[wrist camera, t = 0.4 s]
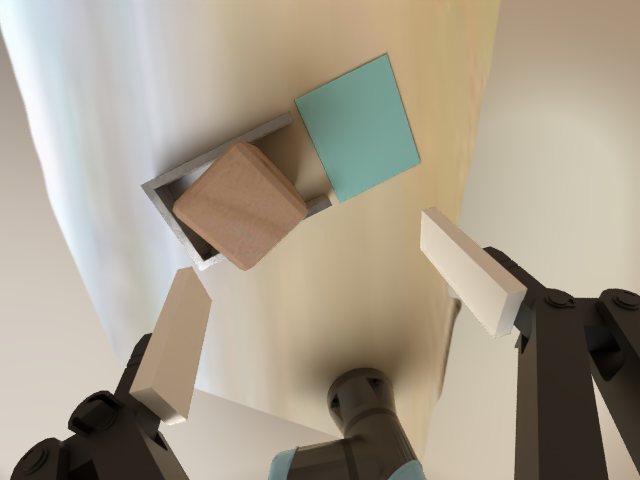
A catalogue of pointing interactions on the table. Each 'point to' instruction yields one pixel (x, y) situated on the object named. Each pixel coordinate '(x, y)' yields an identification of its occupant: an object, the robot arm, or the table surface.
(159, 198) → the chute
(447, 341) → the table surface
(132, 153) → the table surface
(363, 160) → the pad
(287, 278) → the table surface
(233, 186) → the wooden block
